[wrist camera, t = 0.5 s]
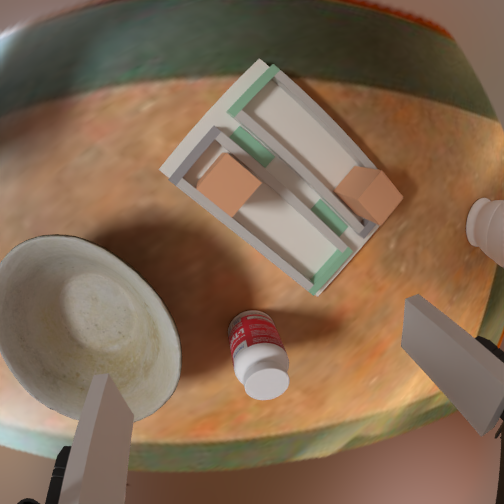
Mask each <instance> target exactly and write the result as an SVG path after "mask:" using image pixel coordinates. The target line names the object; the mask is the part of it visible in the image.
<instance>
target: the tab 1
mask: <svg viewBox="0 0 504 504" xmlns="http://www.w3.org/2000/svg"><path fill="white" fill-rule="evenodd" d="M261 184H262V182H260V181H259V180H258V179H257V178H256V177H255V176H254V175H252V174H251V173H250V172H249V171H248V170H247V169H245V168H244V167H243V166H242V165H241V164H240V163H238V162H237V161H236V160H235V159H234V158H232V157H231V156H230V155H229V154H228V153H221V154H220V156H219V157H218V158H217V159H216V160H215V161H214V163H213V164H212V165H211V166H210V167H209V169H208V170H207V171H206V172H205V173H204V174H203V176H202V177H201V178H200V179H199V180H198V182H197V187H196V189H197V190H198V191H199V192H200V193H202V194H203V195H204V196H205V197H207V198H208V199H209V200H210V201H212V202H213V203H214V204H215V205H217V206H218V207H219V208H220V209H222V210H223V211H224V212H225V213H227V214H228V215H229V216H230V217H231V218H232V217H233V216H234V215H235V214H236V212H237V211H238V210H239V209H240V208H241V207H242V205H243V204H244V203H245V202H246V201H247V200H248V198H249V197H250V196H251V195H252V194H253V193H254V192H255V190H256V189H257V188H258V187H259V186H260V185H261Z"/></svg>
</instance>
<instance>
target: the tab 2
mask: <svg viewBox="0 0 504 504" xmlns="http://www.w3.org/2000/svg"><path fill="white" fill-rule="evenodd" d="M333 192H334V193H335V194H336V195H337V196H338V197H339V198H340V199H341V200H342V201H343V202H344V203H345V204H346V205H347V206H348V207H349V208H350V209H351V210H352V211H353V212H354V213H355V214H357V215H359V216H361V217H363V218H365V219H367V220H369V221H371V222H373V223H375V224H378V225H380V226H381V225H382V224H383V223H384V221H385V220H386V219H387V218H388V217H389V215H390V214H391V213H392V212H393V210H394V209H395V208H396V207H397V205H398V204H399V203H400V202H401V200H402V199H403V198H404V197H403V196H402V195H401V194H400V192H399V191H398V190H397V188H396V187H395V186H394V185H393V183H392V182H391V181H390V180H389V178H388V177H387V176H386V175H385V173H384V172H383V171H382V170H377V169H371V168H365V167H359V166H354V167H353V168H352V169H351V171H350V172H349V173H348V174H347V175H346V176H345V178H344V179H343V180H342V181H341V182H340V183H339V185H338V186H337V187H336V188H335V189H334V190H333Z"/></svg>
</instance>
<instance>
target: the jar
mask: <svg viewBox="0 0 504 504" xmlns="http://www.w3.org/2000/svg"><path fill="white" fill-rule="evenodd" d="M466 235H467V239H468V241H469V243H470V244H471V245H473V246H475V247H480V249H481V250H482V251H483V252H484V253H485V254H486V255H487V256H488V257H490V258H491V259H493V260H494V261H495V262H496V263H497V264H498V265H500V266H501V267H503V268H504V200H494V201H490V200H489V199H487V198H480V199H479V200H477V201H476V202H475V203H474V204H473V206H472V207H471V209H470V212H469V214H468V217H467V222H466Z"/></svg>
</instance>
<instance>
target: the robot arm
mask: <svg viewBox="0 0 504 504" xmlns="http://www.w3.org/2000/svg"><path fill="white" fill-rule="evenodd" d="M401 347H402V348H403V349H404V350H405V351H406V352H407V353H408V354H409V356H410V357H411V358H412V359H413V360H414V361H415V362H416V363H417V364H418V365H419V366H420V368H421V369H422V370H423V371H424V372H425V373H426V374H427V375H428V376H429V377H430V379H431V380H432V381H433V382H434V383H435V384H436V385H437V386H438V387H439V389H440V390H441V391H442V392H443V393H444V394H445V395H446V396H447V398H448V399H449V400H450V401H451V402H452V403H453V404H454V406H455V407H456V408H457V409H458V410H459V411H460V412H461V414H462V415H463V416H464V417H465V418H466V419H467V421H469V423H470V424H471V425H472V426H473V428H474V429H475V430H476V431H477V432H478V433H479V435H480V436H483V435H484V434H486V433H487V432H488V431H490V430H491V429H492V428H494V427H495V425H496V423H497V421H498V420H499V418H501V419H502V420H503V423H502V425H501V426H500V428H499V429H498V431H497V433H496V435H495V438H497V437H498V436H499V434H500V433H501V437H500V438H501V458H500V471H499V482H498V490H497V498H496V504H504V352H503V351H502V350H501V349H500V348H499V349H498V347H497V346H496V345H495V344H493V343H492V342H491V341H490V340H488V339H485V338H483V337H480V336H478V337H476V338H473V337H472V336H471V335H470V334H468V333H467V332H466V331H465V330H464V329H462V328H461V327H460V326H459V325H457V324H456V323H455V322H454V321H452V320H451V319H450V318H449V317H447V316H446V315H445V314H444V313H442V312H441V311H440V310H438V309H437V308H436V307H435V306H433V305H432V304H431V303H429V302H428V301H427V300H425V299H424V298H423V297H422V296H420V295H419V294H417V295H414V296H412V297H409V298H406V299H405V310H404V322H403V332H402V341H401ZM133 421H134V414H133V413H132V411H131V409H130V408H129V406H128V405H127V403H126V402H125V400H124V398H123V397H122V395H121V393H120V392H119V390H118V388H117V387H116V385H115V383H114V381H113V380H112V378H111V376H110V374H109V373H106V374H99V375H94V376H93V379H92V382H91V385H90V388H89V391H88V394H87V397H86V400H85V403H84V406H83V409H82V412H81V416H80V419H79V422H78V426H77V429H76V433H75V436H74V440H73V443H72V446H64V447H63V448H62V450H61V451H60V453H59V454H58V456H57V459H56V463H55V466H54V467H55V469H54V470H53V473H52V476H53V477H51V482H50V486H49V490H48V494H47V498H46V503H45V504H125V492H126V480H127V470H128V461H129V452H130V443H131V435H132V428H133ZM17 504H40V503H38V502H37V501H35V500H34V499H30V498H26V499H23V500H21V501H20V502H19V503H17Z"/></svg>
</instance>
